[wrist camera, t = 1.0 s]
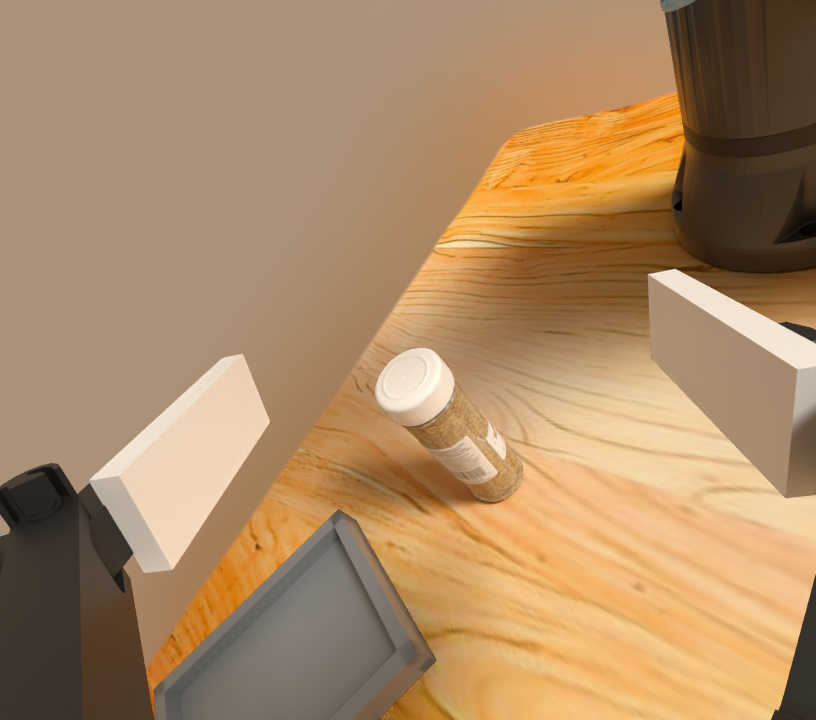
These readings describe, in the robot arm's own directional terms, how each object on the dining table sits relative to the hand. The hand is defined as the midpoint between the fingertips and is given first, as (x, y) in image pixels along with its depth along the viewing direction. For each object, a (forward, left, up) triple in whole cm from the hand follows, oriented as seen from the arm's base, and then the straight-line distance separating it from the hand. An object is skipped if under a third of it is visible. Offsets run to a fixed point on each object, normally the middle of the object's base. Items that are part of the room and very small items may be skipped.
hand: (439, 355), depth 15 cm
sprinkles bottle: (+1, -9, -21) cm, 23 cm away
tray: (+22, -9, -21) cm, 32 cm away
